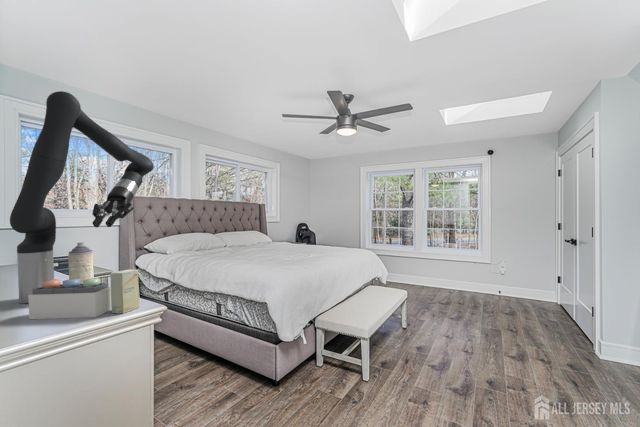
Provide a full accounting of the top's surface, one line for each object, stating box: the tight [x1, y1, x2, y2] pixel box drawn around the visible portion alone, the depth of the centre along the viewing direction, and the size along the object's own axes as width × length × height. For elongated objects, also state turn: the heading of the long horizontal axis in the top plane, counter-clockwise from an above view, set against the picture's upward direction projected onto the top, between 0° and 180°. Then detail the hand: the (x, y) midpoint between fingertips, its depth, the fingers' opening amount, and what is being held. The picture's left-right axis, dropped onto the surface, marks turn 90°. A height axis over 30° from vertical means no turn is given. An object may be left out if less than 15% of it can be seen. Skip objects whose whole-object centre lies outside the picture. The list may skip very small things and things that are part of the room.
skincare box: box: [109, 268, 140, 314], centre depth 90 cm, size 6×4×12 cm
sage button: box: [83, 277, 101, 288], centre depth 88 cm, size 4×4×2 cm
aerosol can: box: [67, 242, 95, 284], centre depth 105 cm, size 7×7×20 cm
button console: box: [28, 282, 112, 320], centre depth 88 cm, size 19×7×8 cm, turn 91°
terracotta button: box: [42, 278, 61, 289], centre depth 88 cm, size 4×4×2 cm
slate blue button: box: [62, 278, 80, 288], centre depth 88 cm, size 4×4×2 cm
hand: (101, 225), depth 101 cm, fingers open, 3 cm apart
